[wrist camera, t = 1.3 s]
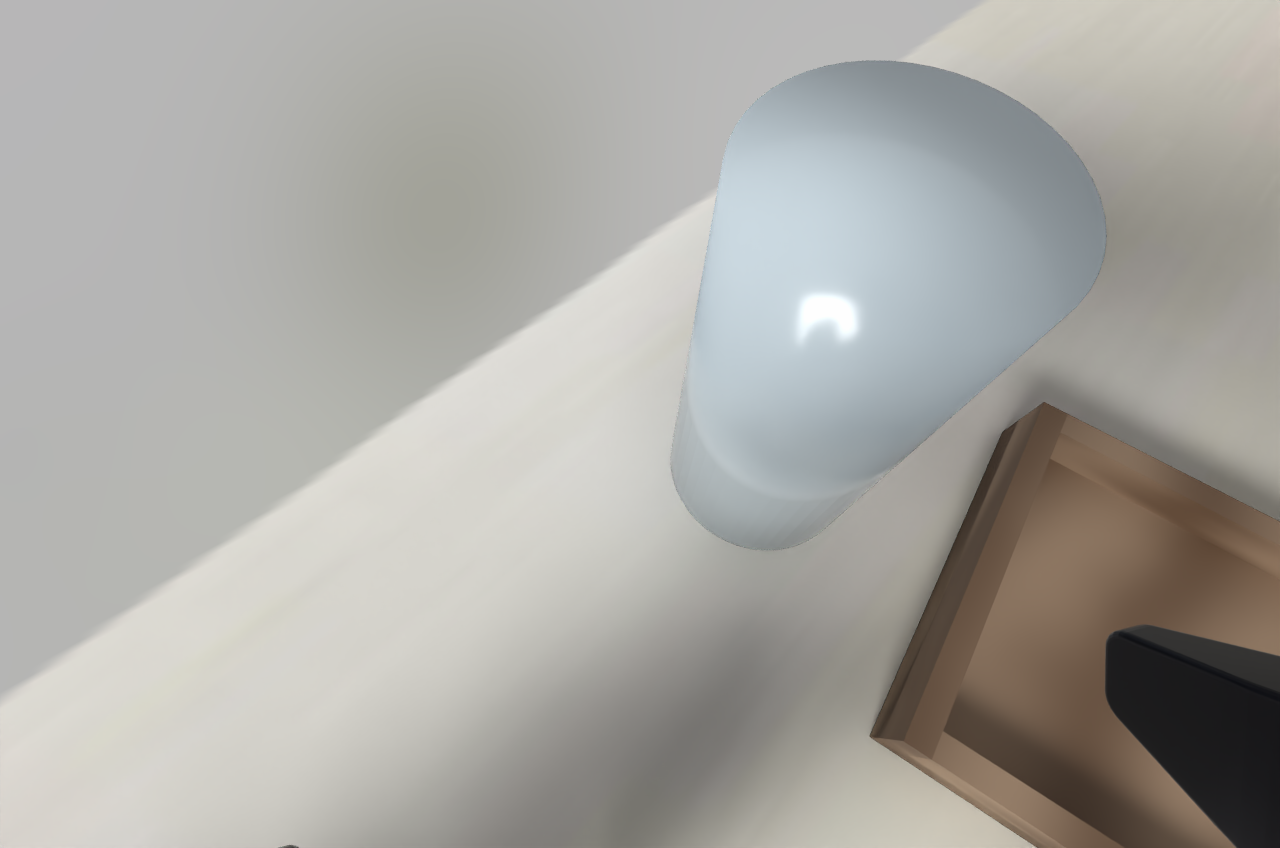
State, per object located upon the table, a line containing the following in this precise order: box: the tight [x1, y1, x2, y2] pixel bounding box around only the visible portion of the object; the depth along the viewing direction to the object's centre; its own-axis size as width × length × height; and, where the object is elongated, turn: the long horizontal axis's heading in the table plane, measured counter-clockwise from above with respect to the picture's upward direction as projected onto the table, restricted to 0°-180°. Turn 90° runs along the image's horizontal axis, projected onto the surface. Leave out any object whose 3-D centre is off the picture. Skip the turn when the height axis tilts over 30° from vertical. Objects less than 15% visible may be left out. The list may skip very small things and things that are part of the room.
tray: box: [870, 402, 1280, 848], centre depth 18 cm, size 12×12×2 cm
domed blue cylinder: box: [671, 61, 1107, 550], centre depth 16 cm, size 6×6×13 cm
